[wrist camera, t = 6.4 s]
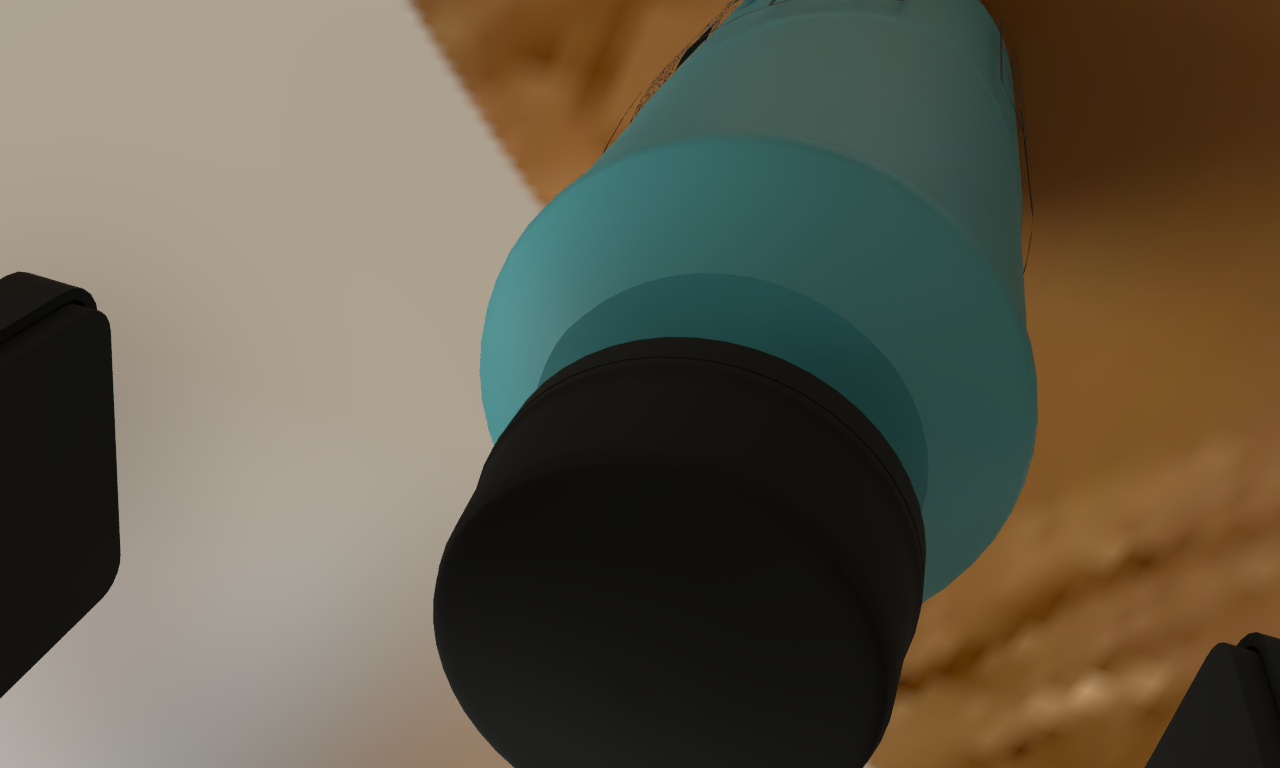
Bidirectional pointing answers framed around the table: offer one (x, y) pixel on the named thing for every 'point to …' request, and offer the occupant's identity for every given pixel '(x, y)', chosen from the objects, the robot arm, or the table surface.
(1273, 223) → the table surface
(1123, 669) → the table surface
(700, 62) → the beverage bottle
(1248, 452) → the table surface
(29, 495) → the robot arm
